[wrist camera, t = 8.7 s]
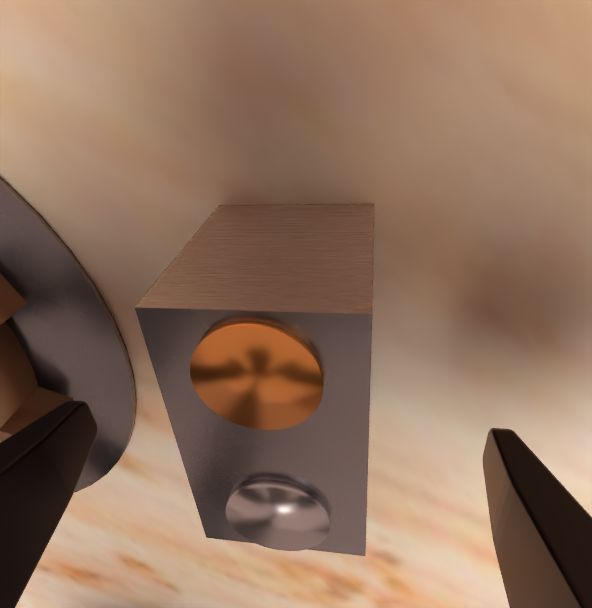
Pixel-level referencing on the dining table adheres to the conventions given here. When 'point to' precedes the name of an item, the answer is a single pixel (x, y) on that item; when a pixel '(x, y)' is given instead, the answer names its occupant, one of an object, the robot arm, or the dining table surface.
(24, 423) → the sprocket
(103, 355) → the sprocket base
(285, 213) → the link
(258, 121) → the dining table surface
